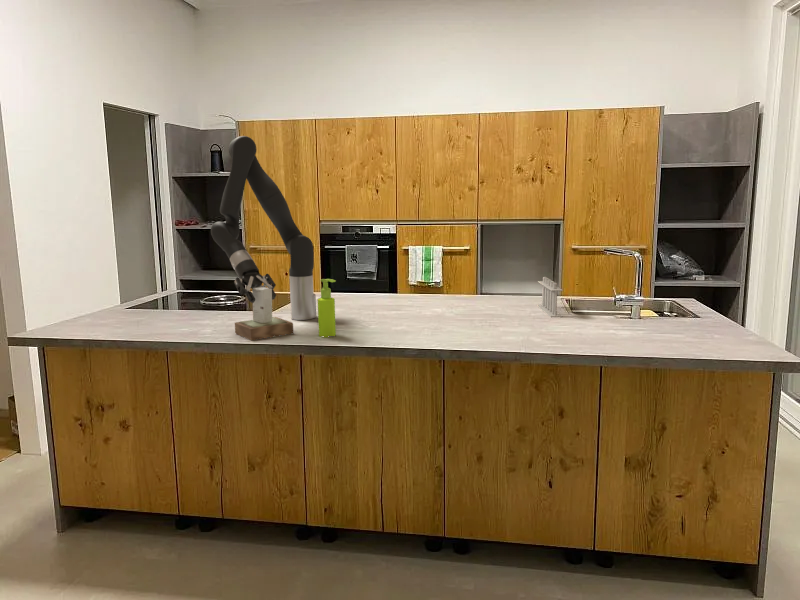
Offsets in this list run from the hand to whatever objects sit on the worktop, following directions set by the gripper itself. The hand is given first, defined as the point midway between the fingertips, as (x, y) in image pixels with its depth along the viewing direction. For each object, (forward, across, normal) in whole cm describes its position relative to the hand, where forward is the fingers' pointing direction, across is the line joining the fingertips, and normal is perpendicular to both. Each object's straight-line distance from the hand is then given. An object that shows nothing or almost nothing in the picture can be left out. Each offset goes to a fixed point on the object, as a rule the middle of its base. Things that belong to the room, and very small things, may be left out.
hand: (264, 299), depth 218 cm
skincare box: (+5, 0, +7) cm, 8 cm away
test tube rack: (+49, +100, -31) cm, 115 cm away
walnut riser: (+8, 0, +10) cm, 12 cm away
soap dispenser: (+23, +13, -5) cm, 26 cm away
